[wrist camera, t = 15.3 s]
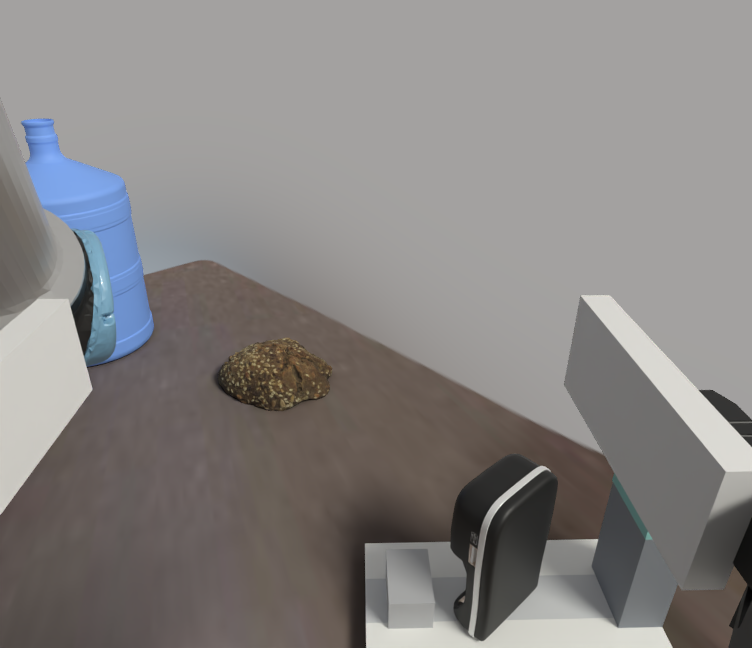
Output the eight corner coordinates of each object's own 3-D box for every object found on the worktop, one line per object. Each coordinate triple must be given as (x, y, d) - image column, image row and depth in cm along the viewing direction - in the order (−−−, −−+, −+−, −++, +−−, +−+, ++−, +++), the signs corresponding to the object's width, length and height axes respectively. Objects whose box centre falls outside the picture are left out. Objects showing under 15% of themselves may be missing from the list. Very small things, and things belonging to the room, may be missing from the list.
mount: (365, 556, 45) (364, 430, 40) (614, 552, 46) (649, 427, 40) (366, 685, 37) (365, 546, 31) (675, 677, 37) (731, 540, 31)
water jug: (178, 322, 81) (142, 114, 68) (101, 380, 68) (38, 135, 55) (86, 308, 85) (36, 109, 72) (-3, 360, 72) (-85, 127, 59)
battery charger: (497, 554, 44) (515, 436, 39) (540, 587, 41) (565, 464, 36) (435, 610, 40) (445, 485, 34) (479, 649, 37) (497, 521, 32)
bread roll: (206, 381, 69) (200, 345, 66) (289, 345, 76) (287, 312, 74) (268, 429, 60) (264, 389, 58) (354, 383, 68) (354, 347, 66)
